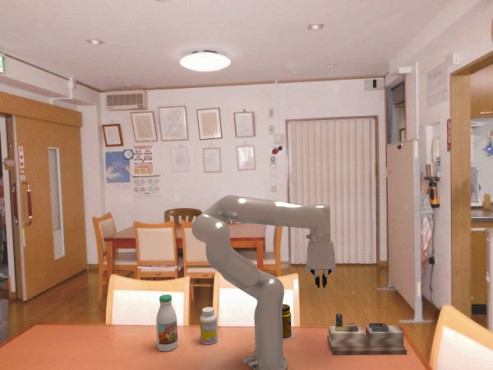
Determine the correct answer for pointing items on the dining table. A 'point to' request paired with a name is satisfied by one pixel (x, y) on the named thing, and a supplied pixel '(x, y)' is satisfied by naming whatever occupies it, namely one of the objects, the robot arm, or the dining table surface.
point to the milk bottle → (166, 325)
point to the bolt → (340, 325)
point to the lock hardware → (375, 327)
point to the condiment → (286, 322)
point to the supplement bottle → (208, 326)
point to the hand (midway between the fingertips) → (321, 286)
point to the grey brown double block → (366, 341)
